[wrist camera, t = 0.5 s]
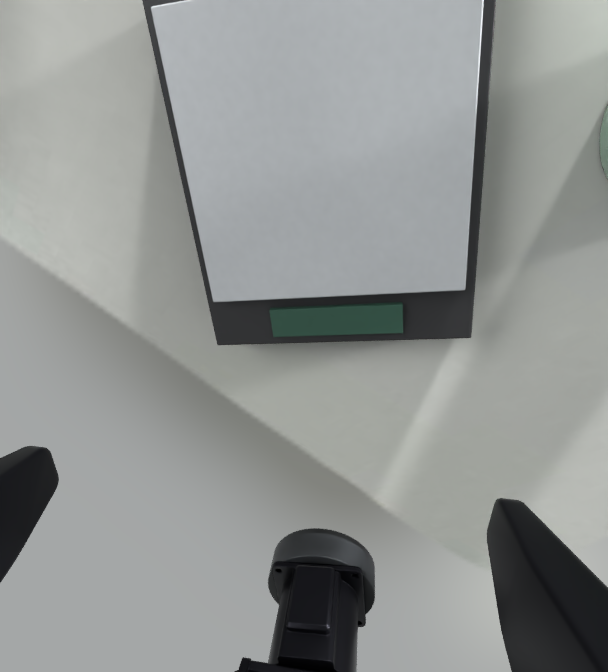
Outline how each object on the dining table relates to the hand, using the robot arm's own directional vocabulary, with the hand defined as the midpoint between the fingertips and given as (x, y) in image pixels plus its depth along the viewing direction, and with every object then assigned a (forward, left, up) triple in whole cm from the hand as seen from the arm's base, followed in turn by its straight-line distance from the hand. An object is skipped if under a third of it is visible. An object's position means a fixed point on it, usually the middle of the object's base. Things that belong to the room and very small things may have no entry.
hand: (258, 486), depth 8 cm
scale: (+4, -1, -14) cm, 14 cm away
